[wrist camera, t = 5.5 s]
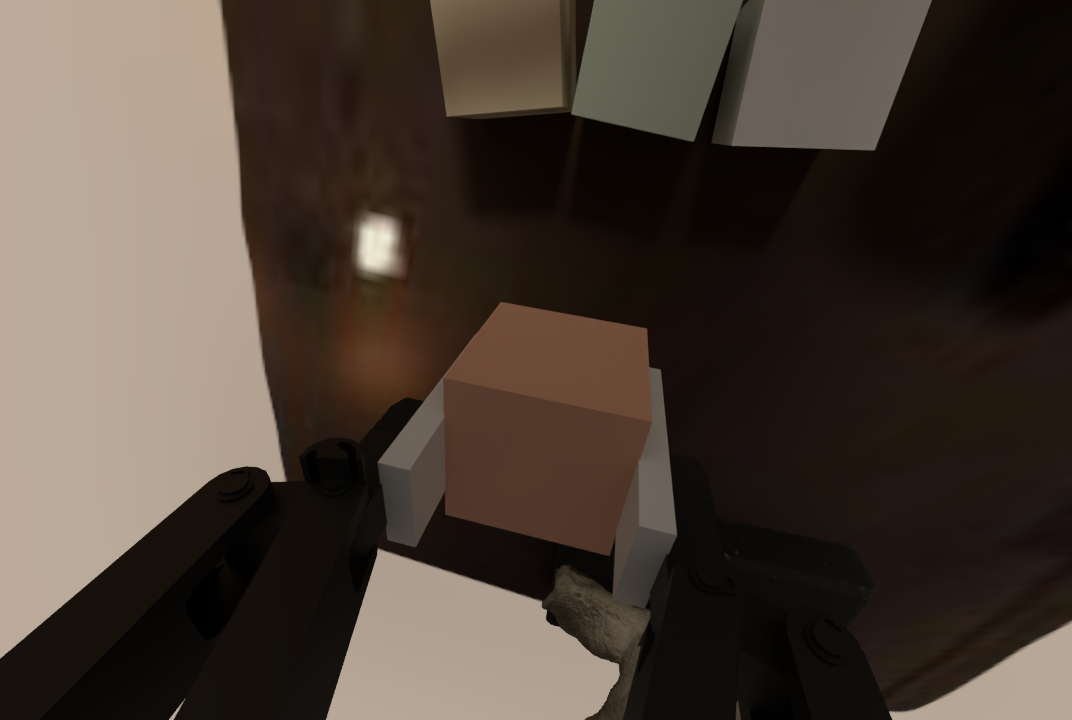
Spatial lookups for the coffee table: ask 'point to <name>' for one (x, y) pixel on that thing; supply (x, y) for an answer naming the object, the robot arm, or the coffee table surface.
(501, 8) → the maple cube
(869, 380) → the coffee table surface
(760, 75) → the offwhite cube
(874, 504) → the coffee table surface
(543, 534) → the terracotta cube
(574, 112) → the sage cube
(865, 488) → the coffee table surface
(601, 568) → the coral
